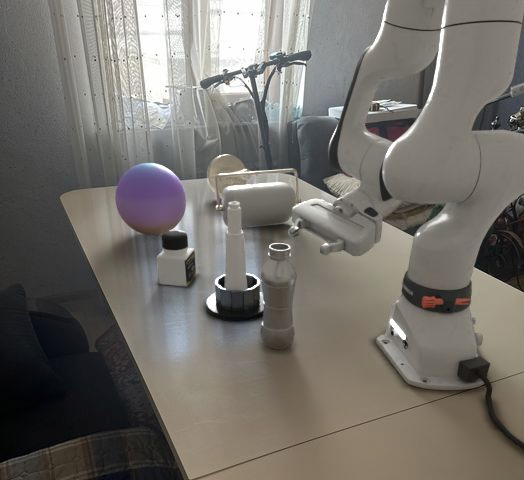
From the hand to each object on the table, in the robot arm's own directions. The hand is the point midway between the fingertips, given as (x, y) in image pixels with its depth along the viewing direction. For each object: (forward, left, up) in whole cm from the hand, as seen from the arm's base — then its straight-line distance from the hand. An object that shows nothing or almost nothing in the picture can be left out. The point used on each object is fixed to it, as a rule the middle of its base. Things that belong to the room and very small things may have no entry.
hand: (306, 242), depth 107 cm
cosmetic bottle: (-2, +15, -13) cm, 20 cm away
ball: (+46, +41, -15) cm, 63 cm away
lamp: (+68, +15, -15) cm, 71 cm away
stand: (-1, +15, -14) cm, 20 cm away
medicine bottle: (+13, +30, -15) cm, 35 cm away
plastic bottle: (-17, +7, -15) cm, 24 cm away
